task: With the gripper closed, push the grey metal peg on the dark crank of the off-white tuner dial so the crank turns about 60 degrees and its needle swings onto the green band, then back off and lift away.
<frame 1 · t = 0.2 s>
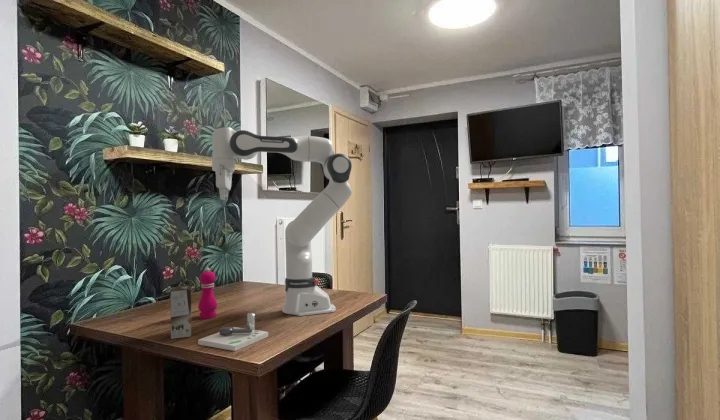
hand: (223, 200, 159), 48 cm above the table, fingers open, 8 cm apart
coffee box: (181, 334, 134), on the table
dial plate: (226, 339, 128), on the table
pepper mill: (207, 317, 157), on the table
crank: (237, 323, 128), point 5 cm above the table, hinge at 0.0°
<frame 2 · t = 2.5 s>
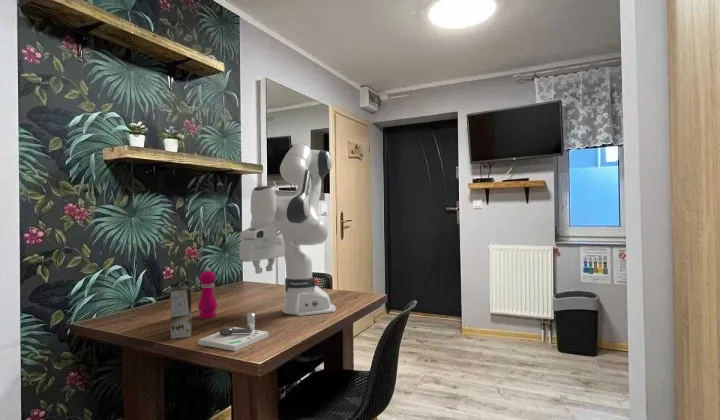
hand: (264, 272, 134), 21 cm above the table, fingers open, 4 cm apart
nothing on the table moved.
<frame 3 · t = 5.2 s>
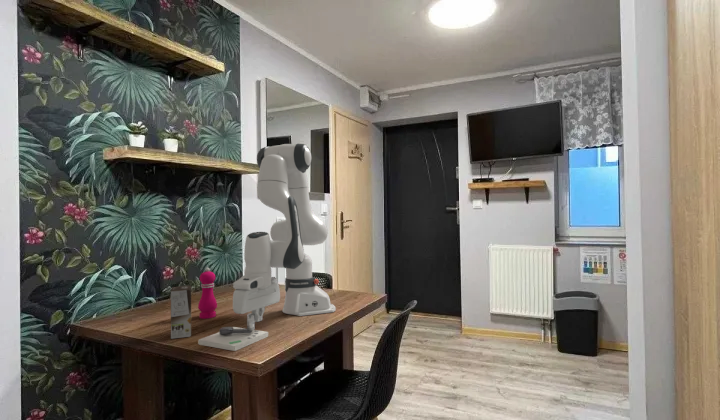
hand: (258, 321, 130), 5 cm above the table, fingers closed
crank: (237, 323, 128), point 5 cm above the table, hinge at -1.3°, touching gripper
everything else where it was.
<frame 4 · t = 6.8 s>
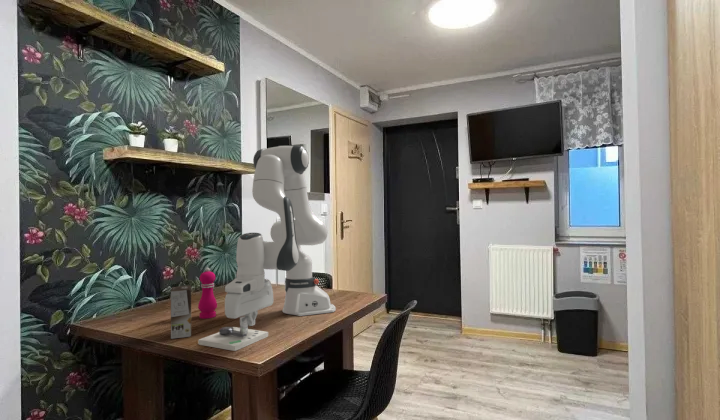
hand: (251, 325, 126), 5 cm above the table, fingers closed
crank: (233, 325, 126), point 5 cm above the table, hinge at -34.1°, touching gripper
everything else where it was.
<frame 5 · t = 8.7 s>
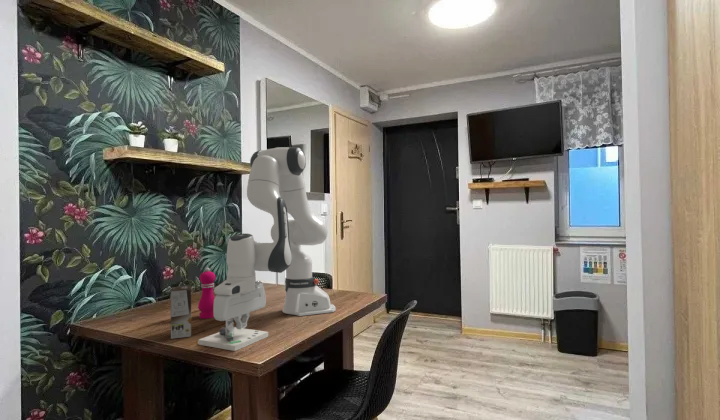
hand: (241, 327, 124), 5 cm above the table, fingers closed
crank: (227, 326, 125), point 5 cm above the table, hinge at -68.4°
everything else where it was.
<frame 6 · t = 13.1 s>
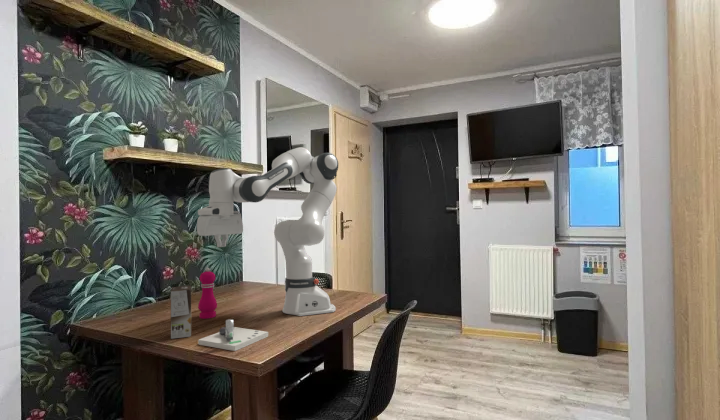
hand: (221, 246, 148), 29 cm above the table, fingers closed
nothing on the table moved.
at the end: crank at -68° (first picture: +0°); the gripper is holding nothing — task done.
